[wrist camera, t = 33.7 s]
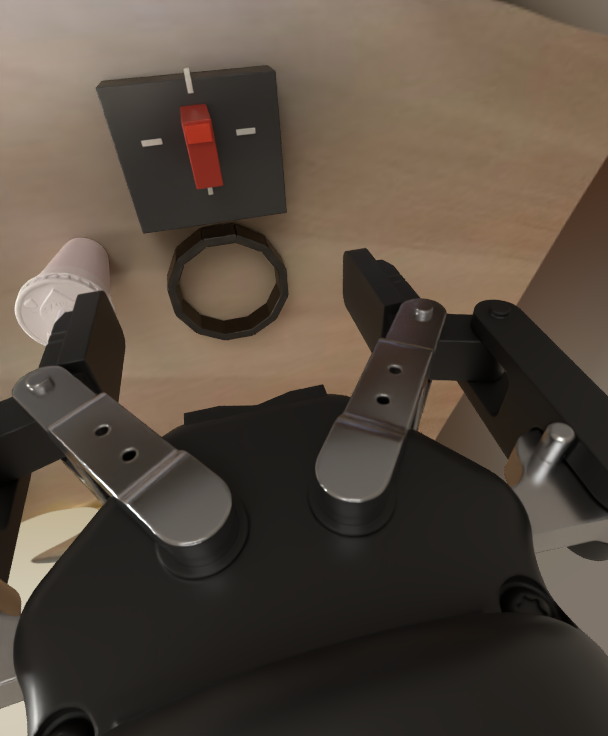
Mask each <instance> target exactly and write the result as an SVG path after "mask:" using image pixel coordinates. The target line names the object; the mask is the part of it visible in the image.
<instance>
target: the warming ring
mask: <svg viewBox="0 0 608 736" xmlns="http://www.w3.org/2000/svg"><path fill="white" fill-rule="evenodd" d="M231 243H238V244H241V245H244V246H246V247H249V248H252V249H255V250H258V251H260V252H262V253H263V254H264V255H265V256H266V258H267V259H268V260H269V261H270V262H271V264H272V265H273V266H274V267H275V276H276V285H275V287H274V289H273V291H272V293H271V295H270V297H269V299H268V301H267V303H266V304H264V305H263V306H262V307H260V308H259V309H257V310H256V311H255V312H253V313H252V314H251V315H249V316H248V317H243V318H237V319H232V320H226V321H222V320H218V319H215V318H211V317H207V316H203V315H200V314H199V313H198V312H197V311H196V310H195V309H193V308H192V307H191V306H190V305H189V304H188V303H187V302H186V301H185V300H183V298H182V295H181V292H180V288H179V285H178V282H179V279H180V276H181V273H182V270H183V267H184V265H185V264H186V263H187V262H188V261H190V260H191V259H192V258H193V257H195V256H196V255H197V254H199V253H200V252H201V251H202V250H204V249H205V248H206V247H211V246H218V245H224V244H231ZM167 290H168V293H169V296H170V300H171V303H172V306H173V309H174V312H175V314H176V316H177V317H178V318H179V319H181V320H182V321H183V322H184V323H185V324H186V325H188V326H189V327H190V328H191V329H192V330H193V331H195V332H196V333H198V334H201V335H205V336H209V337H213V338H217V339H222V340H225V339H226V340H231V339H236V338H242V337H247V336H252V335H253V334H254V335H255V334H256V333H258V332H259V331H260V330H262V329H263V328H265V327H266V326H268V325H269V324H270V323H272V322H273V321H275V320H276V319H277V317H278V315H279V313H280V311H281V309H282V307H283V305H284V303H285V301H286V300H287V298H288V283H287V271H286V267H285V265H284V263H283V260H282V258H281V256H280V255H279V253H278V252H277V251H276V250H275V248H274V247H273V246H272V245H271V243H270V242H269V241H268V240H267V238H266V237H265V236H264V235H263V234H261V233H258V232H255V231H253V230H250V229H248V228H245V227H242V226H240V225H237V224H234V225H233V223H231V224H224V225H218V226H211V227H204V228H201V229H199V230H197V231H196V232H195V233H194V234H192V235H191V236H190V237H189V238H187V239H186V240H185V241H184V242H182V243H181V244H180V245H179V246H177V249H175V252H174V255H173V258H172V261H171V265H170V268H169V271H168V274H167Z"/></svg>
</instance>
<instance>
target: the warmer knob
mask: <svg viewBox="0 0 608 736" xmlns="http://www.w3.org/2000/svg"><path fill="white" fill-rule="evenodd" d="M180 111H181V123H182V127H183V132H184V136H185V140H186V145H187V149H188V153H189V158H190V162H191V166H192V171H193V175H194V179H195V184H196V188H197V189H204V188H211V187H218V186H223V180H222V175H221V169H220V164H219V159H218V153H217V148H216V143H215V137H214V132H213V127H212V121H211V118H210V115H209V112H208V109H207V106H206V104H198V105H190V106H181V107H180Z"/></svg>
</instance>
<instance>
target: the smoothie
mask: <svg viewBox="0 0 608 736" xmlns="http://www.w3.org/2000/svg"><path fill="white" fill-rule="evenodd" d="M101 290H103V291H104V292H105V293H106V294H107V296H108V298H109V301H110V303H111V305H112V308H113V310H114V312H115V307H114V305H113V303H112V301H111V295H110V274H109V258H108V254H107V252H106V250H105V249H104V248H103V247H102V246H101V245H100V244H99V243H97V242H96V241H94V240H91V239H88V238H74V239H72V240H70V241H68V242H67V243H66V244H65V245H64V246H63V248H62V249H61V250H60V251H59V252H58V253H57V255H56V256H55V257H54V258H53V259H52V260H51V261H50V263H49V264H48V265H47V266H46V267H45V268H44V270H43V271H42V272H41V273H40V274H39V275H38V276H36V277H34V278H32V279H30V280H28V281H27V282H26V284H25V285H24V286H23V287H22V288H21V289H20V292H19V294H18V297H17V300H16V303H15V315H16V318H17V321H18V323H19V325H20V326H21V328H22V329H23V330H24V331H25V332H26V333H27V334H28V335H29V336H30V337H31V338H32V339H34V340H35V341H37V342H39V343H40V344H42V345H44V346H46V345H47V344H48V340H49V337H50V335H51V331H52V329H53V326H54V323H55V322H56V321H57V320H58V319H59V318H60V317H61V316H62V315H63V314H64V313H65V312H69V311H73V308H74V305H75V301H76V298H77V295H78V294H83V293H89V292H95V291H101ZM115 314H116V313H115Z"/></svg>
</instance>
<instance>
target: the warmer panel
mask: <svg viewBox="0 0 608 736" xmlns="http://www.w3.org/2000/svg"><path fill="white" fill-rule="evenodd" d="M183 70H184V73H182V74H171V75H161V76H150V77H140V78H129V79H119V80H108V81H101V82H100V84H99V85H98V86H97V87H96V91H97V94H98V97H99V100H100V103H101V106H102V109H103V112H104V115H105V118H106V122H107V125H108V128H109V131H110V134H111V137H112V140H113V143H114V146H115V149H116V152H117V155H118V158H119V161H120V164H121V167H122V170H123V173H124V176H125V179H126V182H127V186H128V189H129V192H130V195H131V198H132V201H133V204H134V207H135V210H136V213H137V216H138V219H139V222H140V225H141V228H142V231H143V233H151V232H158V231H165V230H171V229H178V228H185V227H192V226H199V225H206V224H212V223H219V222H226V221H233V220H240V219H247V218H253V217H260V216H267V215H274V214H281V213H286V212H287V209H286V197H285V184H284V172H283V159H282V147H281V134H280V122H279V109H278V97H277V85H276V72H275V70H273V69H272V68H271V67H269V66H268V65H266V66H255V67H245V68H234V69H224V70H213V71H203V72H192V73H190V72H189V68H183ZM198 104H206V106H207V109H208V112H209V115H210V118H211V121H212V127H213V132H214V137H215V143H216V148H217V153H218V159H219V164H220V169H221V175H222V180H223V186H218V187H211V188H204V189H197V188H196V184H195V179H194V175H193V171H192V166H191V162H190V158H189V153H188V149H187V145H186V140H185V136H184V132H183V127H182V123H181V111H180V107H181V106H190V105H198Z"/></svg>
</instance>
